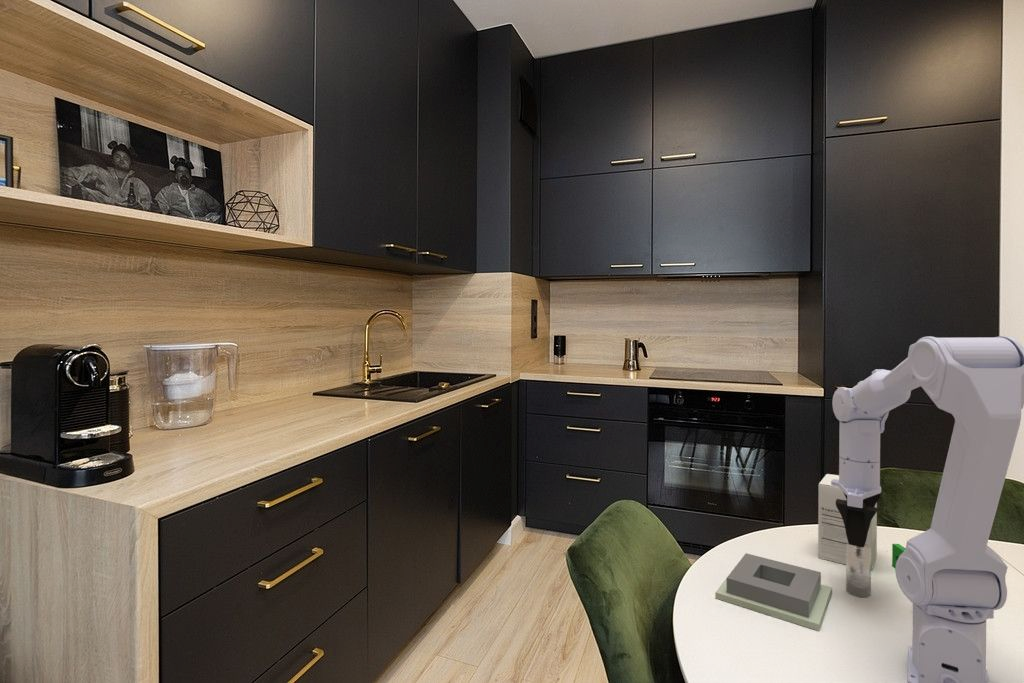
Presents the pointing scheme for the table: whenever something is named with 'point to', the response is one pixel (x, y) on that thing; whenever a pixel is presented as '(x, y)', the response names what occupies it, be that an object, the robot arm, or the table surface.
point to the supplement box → (837, 525)
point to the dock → (777, 590)
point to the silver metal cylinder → (858, 570)
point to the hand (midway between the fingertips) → (858, 537)
